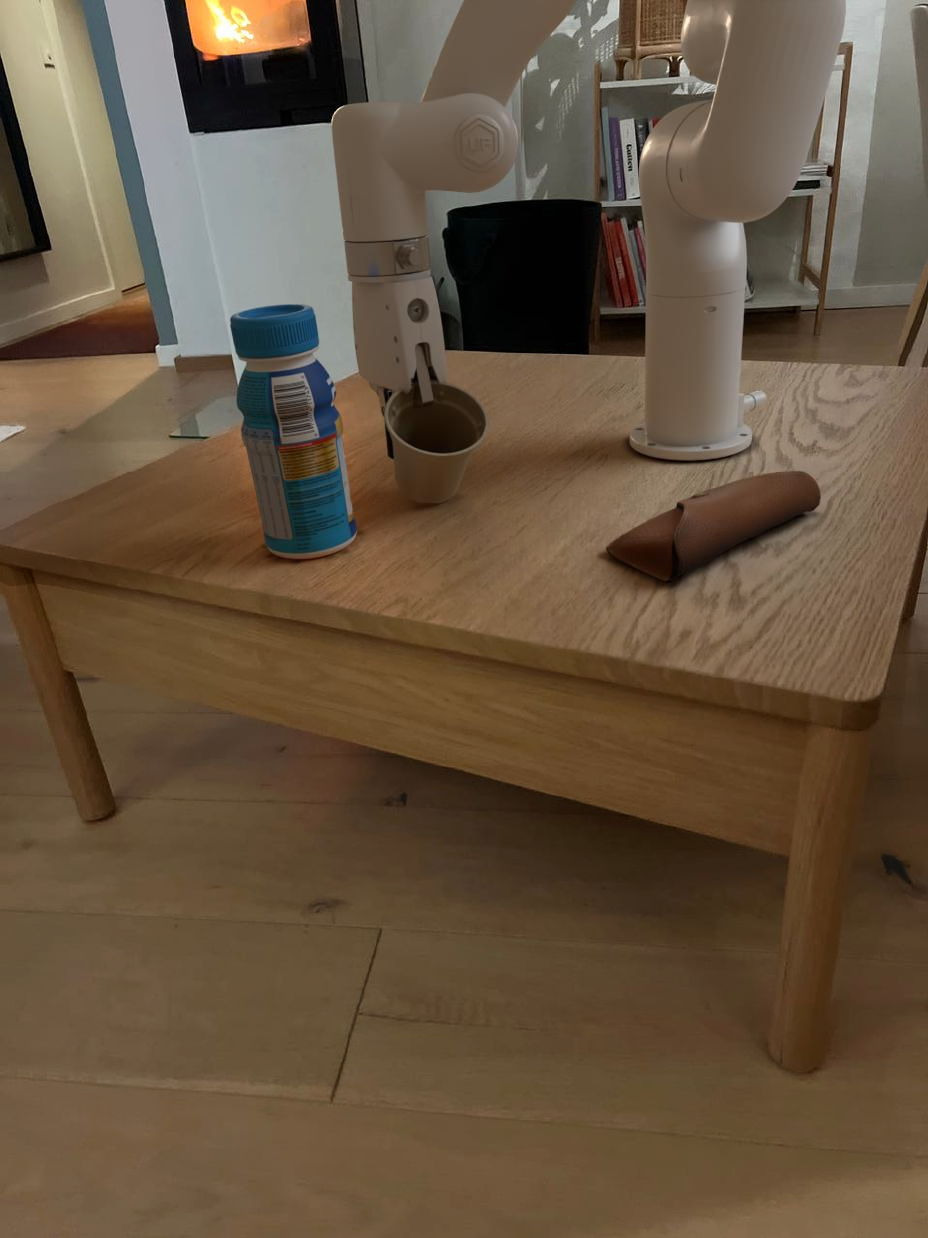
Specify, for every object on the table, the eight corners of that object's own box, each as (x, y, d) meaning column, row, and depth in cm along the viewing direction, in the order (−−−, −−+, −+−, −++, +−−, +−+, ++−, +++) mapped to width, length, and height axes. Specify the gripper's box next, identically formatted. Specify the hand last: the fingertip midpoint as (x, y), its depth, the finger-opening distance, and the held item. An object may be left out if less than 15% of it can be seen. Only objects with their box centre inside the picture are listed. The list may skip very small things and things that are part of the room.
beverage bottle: (247, 558, 79) (195, 322, 70) (295, 521, 86) (255, 302, 76) (331, 566, 76) (290, 320, 67) (375, 527, 83) (343, 299, 73)
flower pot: (460, 531, 85) (474, 467, 78) (365, 502, 85) (370, 436, 78) (484, 462, 90) (499, 397, 83) (395, 436, 91) (402, 368, 84)
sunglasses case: (736, 487, 82) (774, 433, 77) (791, 541, 80) (834, 489, 75) (597, 550, 73) (629, 493, 68) (654, 613, 70) (691, 559, 65)
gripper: (468, 260, 77) (478, 466, 86) (385, 250, 89) (402, 433, 97) (391, 271, 74) (410, 484, 83) (315, 259, 85) (339, 448, 94)
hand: (405, 456), depth 90 cm, fingers closed
